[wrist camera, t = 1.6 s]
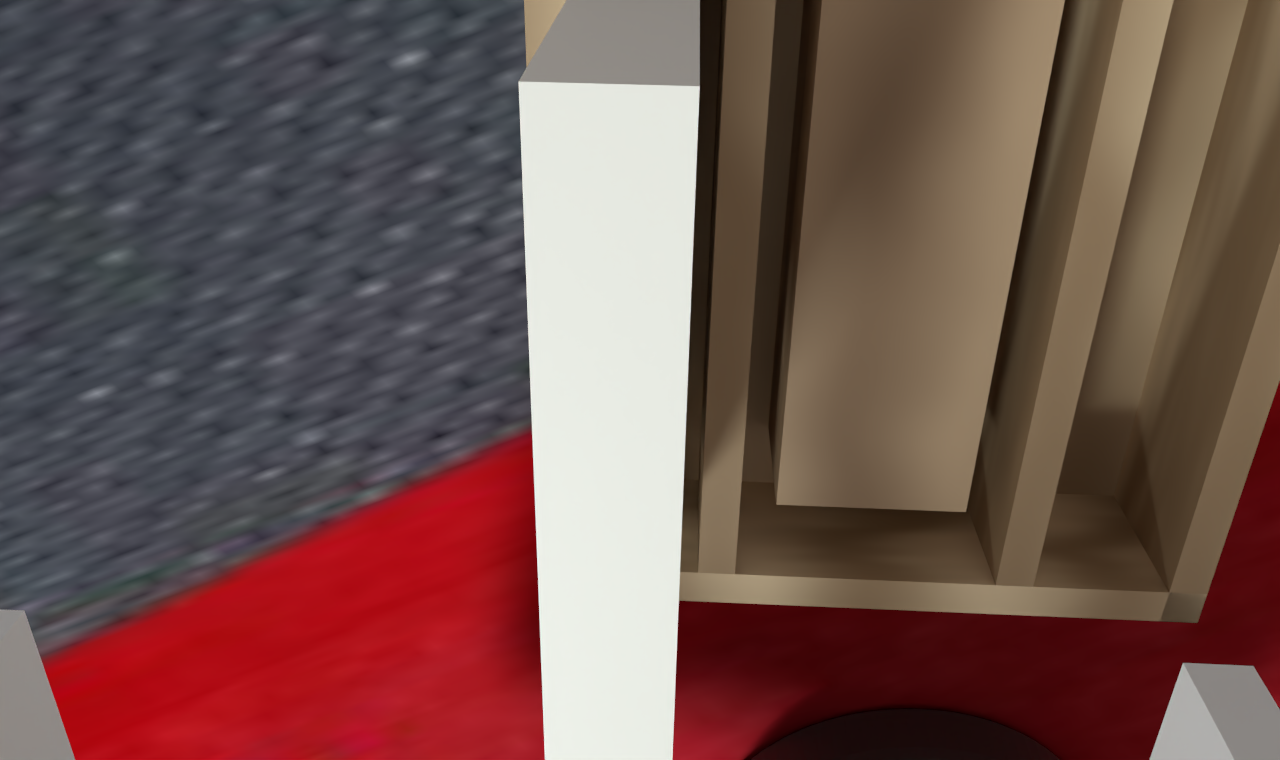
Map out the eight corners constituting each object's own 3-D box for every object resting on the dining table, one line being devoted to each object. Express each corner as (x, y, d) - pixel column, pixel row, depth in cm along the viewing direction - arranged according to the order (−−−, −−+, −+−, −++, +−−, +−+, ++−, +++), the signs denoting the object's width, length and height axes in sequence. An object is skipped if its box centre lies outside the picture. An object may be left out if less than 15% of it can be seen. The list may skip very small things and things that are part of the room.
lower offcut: (1024, -75, 26) (1047, -64, 24) (937, 432, 33) (950, 470, 31) (810, -80, 26) (817, -70, 24) (768, 426, 33) (772, 463, 31)
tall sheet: (700, -83, 26) (699, 86, 12) (680, 423, 33) (666, 905, 19) (616, -84, 26) (518, 81, 12) (613, 420, 33) (550, 899, 19)
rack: (1319, -217, 25) (1480, -214, 20) (1123, 496, 35) (1197, 623, 30) (553, -230, 26) (516, -230, 21) (567, 474, 36) (544, 594, 30)
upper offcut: (1047, -64, 24) (1075, -52, 22) (950, 470, 31) (965, 512, 29) (817, -70, 24) (827, -57, 22) (772, 463, 31) (776, 504, 29)
